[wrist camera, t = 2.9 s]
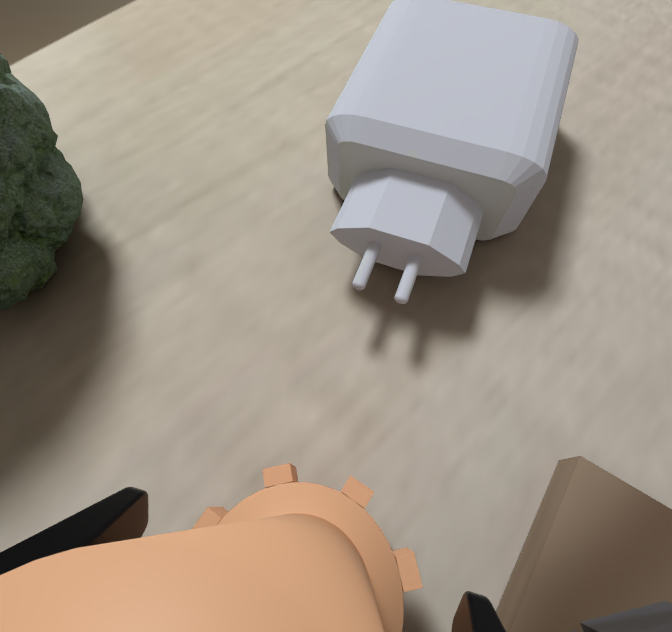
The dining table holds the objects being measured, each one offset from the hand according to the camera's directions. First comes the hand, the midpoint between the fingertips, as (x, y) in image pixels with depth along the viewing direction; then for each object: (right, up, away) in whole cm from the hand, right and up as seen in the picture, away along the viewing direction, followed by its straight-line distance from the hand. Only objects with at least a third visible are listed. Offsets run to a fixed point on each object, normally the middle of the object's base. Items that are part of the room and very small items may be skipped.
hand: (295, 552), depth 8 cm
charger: (+5, +11, +13) cm, 17 cm away
